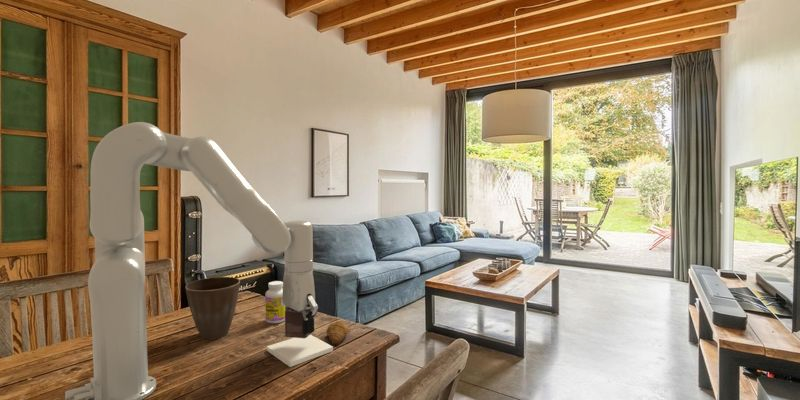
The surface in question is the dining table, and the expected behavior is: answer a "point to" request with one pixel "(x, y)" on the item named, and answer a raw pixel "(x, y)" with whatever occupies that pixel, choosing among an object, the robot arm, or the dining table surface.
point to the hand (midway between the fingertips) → (299, 328)
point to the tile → (299, 350)
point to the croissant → (337, 332)
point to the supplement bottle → (275, 303)
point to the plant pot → (213, 304)
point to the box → (294, 324)
